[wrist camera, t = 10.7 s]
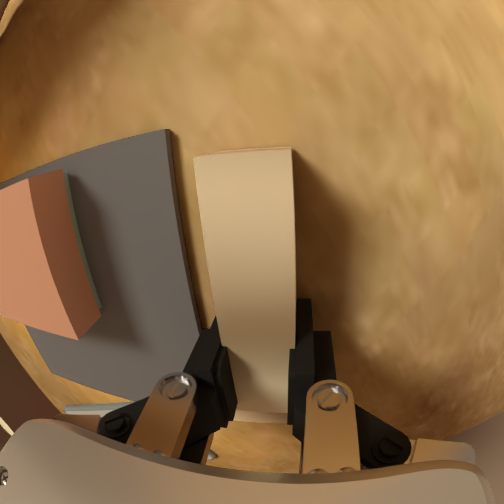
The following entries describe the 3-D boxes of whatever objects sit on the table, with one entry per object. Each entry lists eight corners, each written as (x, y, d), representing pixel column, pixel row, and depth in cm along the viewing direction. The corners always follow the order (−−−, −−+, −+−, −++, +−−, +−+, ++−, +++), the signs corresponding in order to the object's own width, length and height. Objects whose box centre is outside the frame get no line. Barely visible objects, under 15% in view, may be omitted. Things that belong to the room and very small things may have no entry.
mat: (169, 129, 9) (164, 129, 8) (223, 412, 14) (221, 417, 14) (-14, 191, 11) (-18, 193, 11) (54, 369, 17) (51, 372, 16)
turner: (178, 156, 9) (133, 166, 6) (342, 146, 8) (365, 149, 5) (227, 413, 14) (216, 453, 12) (321, 416, 13) (321, 459, 11)
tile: (27, 178, 7) (-34, 206, 8) (78, 340, 10) (1, 316, 11) (69, 166, 9) (-5, 195, 11) (106, 310, 12) (24, 297, 13)
